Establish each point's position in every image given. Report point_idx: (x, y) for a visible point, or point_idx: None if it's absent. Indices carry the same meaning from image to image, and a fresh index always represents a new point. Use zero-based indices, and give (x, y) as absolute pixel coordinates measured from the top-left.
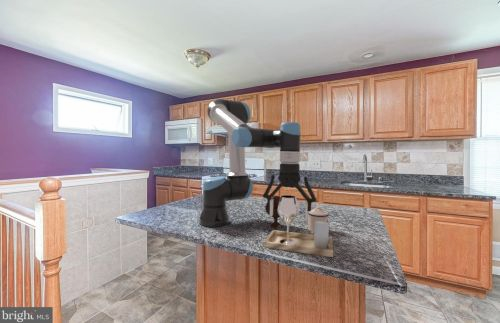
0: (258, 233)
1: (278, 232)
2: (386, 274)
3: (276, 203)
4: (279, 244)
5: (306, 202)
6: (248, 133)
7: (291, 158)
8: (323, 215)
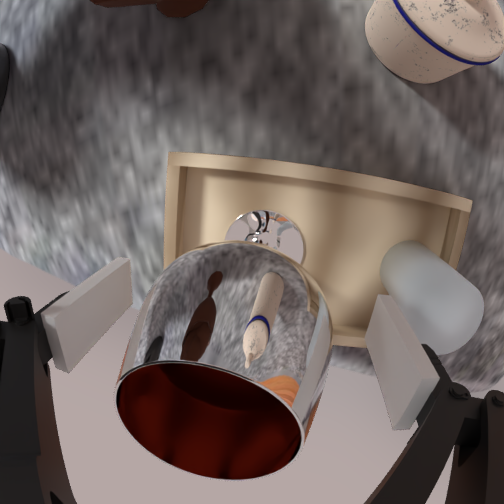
0: (114, 129)
1: (203, 167)
2: (497, 363)
3: None
4: None
5: (412, 405)
6: None
7: None
8: (488, 61)
